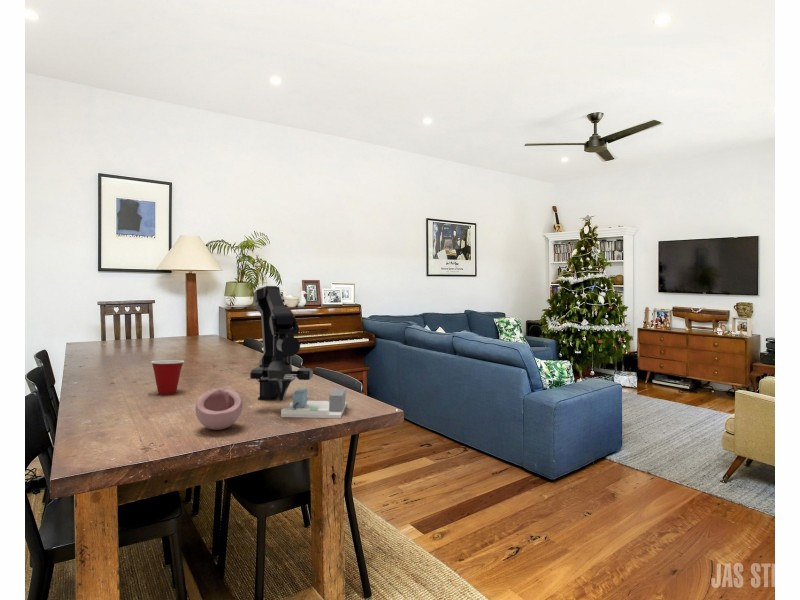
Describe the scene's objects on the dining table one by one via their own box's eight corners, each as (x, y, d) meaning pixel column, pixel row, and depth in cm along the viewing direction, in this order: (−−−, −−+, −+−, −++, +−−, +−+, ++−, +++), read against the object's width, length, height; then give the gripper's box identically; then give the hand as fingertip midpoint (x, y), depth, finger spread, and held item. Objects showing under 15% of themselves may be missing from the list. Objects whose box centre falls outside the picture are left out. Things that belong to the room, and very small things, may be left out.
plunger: (289, 412, 137) (289, 397, 137) (298, 402, 149) (298, 388, 149) (299, 413, 137) (299, 397, 137) (307, 402, 149) (307, 388, 149)
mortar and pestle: (194, 438, 117) (195, 394, 117) (195, 424, 128) (195, 384, 128) (243, 432, 122) (244, 390, 122) (240, 420, 133) (240, 381, 133)
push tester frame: (281, 417, 137) (281, 397, 137) (293, 403, 153) (293, 385, 153) (340, 418, 137) (340, 398, 137) (346, 404, 153) (346, 386, 153)
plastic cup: (189, 390, 169) (190, 358, 169) (174, 397, 159) (174, 363, 158) (161, 389, 170) (161, 357, 169) (143, 396, 159) (144, 362, 159)
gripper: (244, 354, 137) (243, 406, 137) (305, 356, 137) (305, 407, 137) (256, 349, 148) (255, 397, 148) (313, 350, 148) (312, 398, 148)
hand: (281, 400), depth 145 cm, fingers closed
